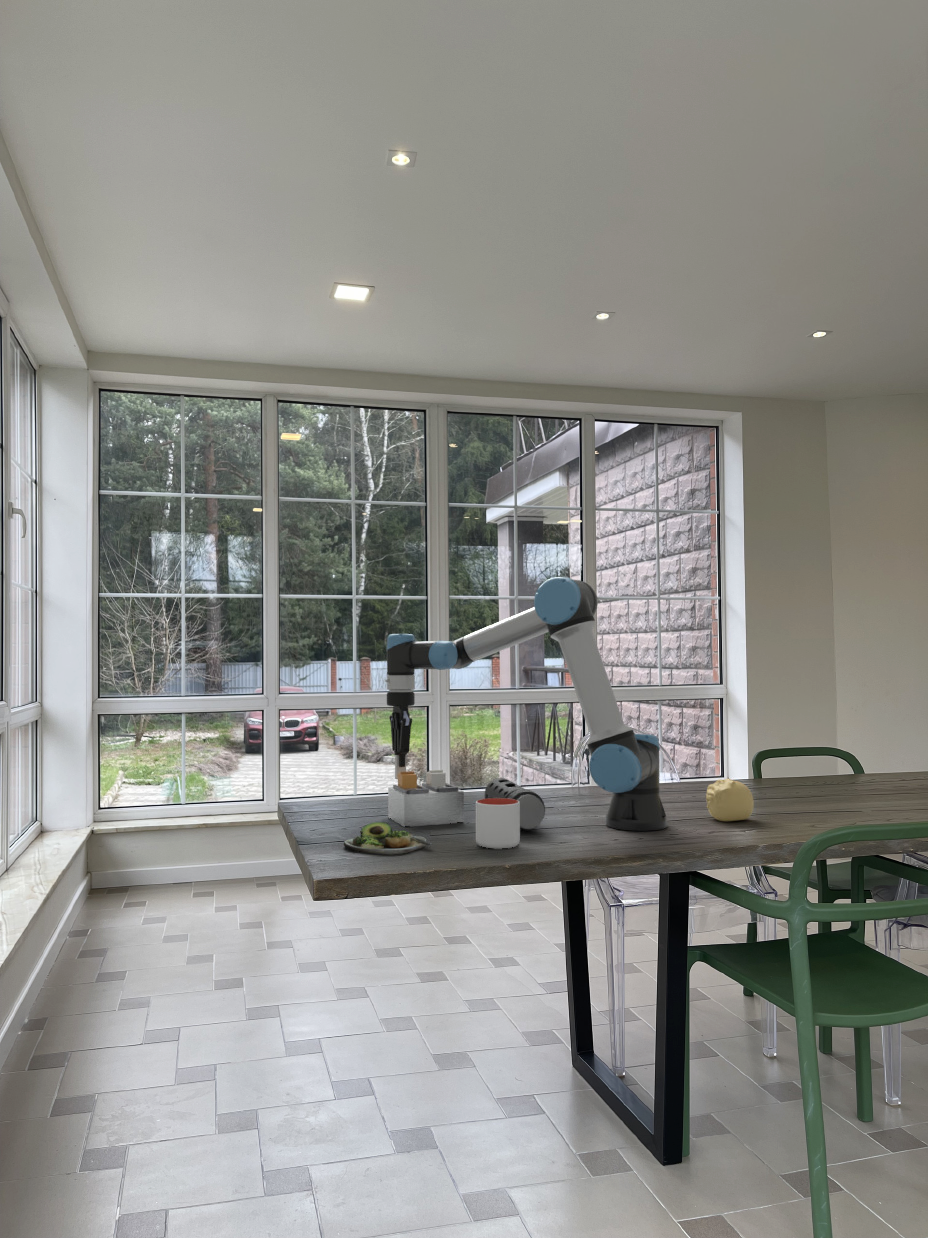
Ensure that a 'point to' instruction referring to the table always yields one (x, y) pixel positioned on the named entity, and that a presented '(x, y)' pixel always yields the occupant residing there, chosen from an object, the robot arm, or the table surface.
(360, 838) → the salad plate
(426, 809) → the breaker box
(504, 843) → the cup
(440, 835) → the table surface
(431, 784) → the toggle white
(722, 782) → the sculpture
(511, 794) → the muzzle brake
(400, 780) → the toggle orange
